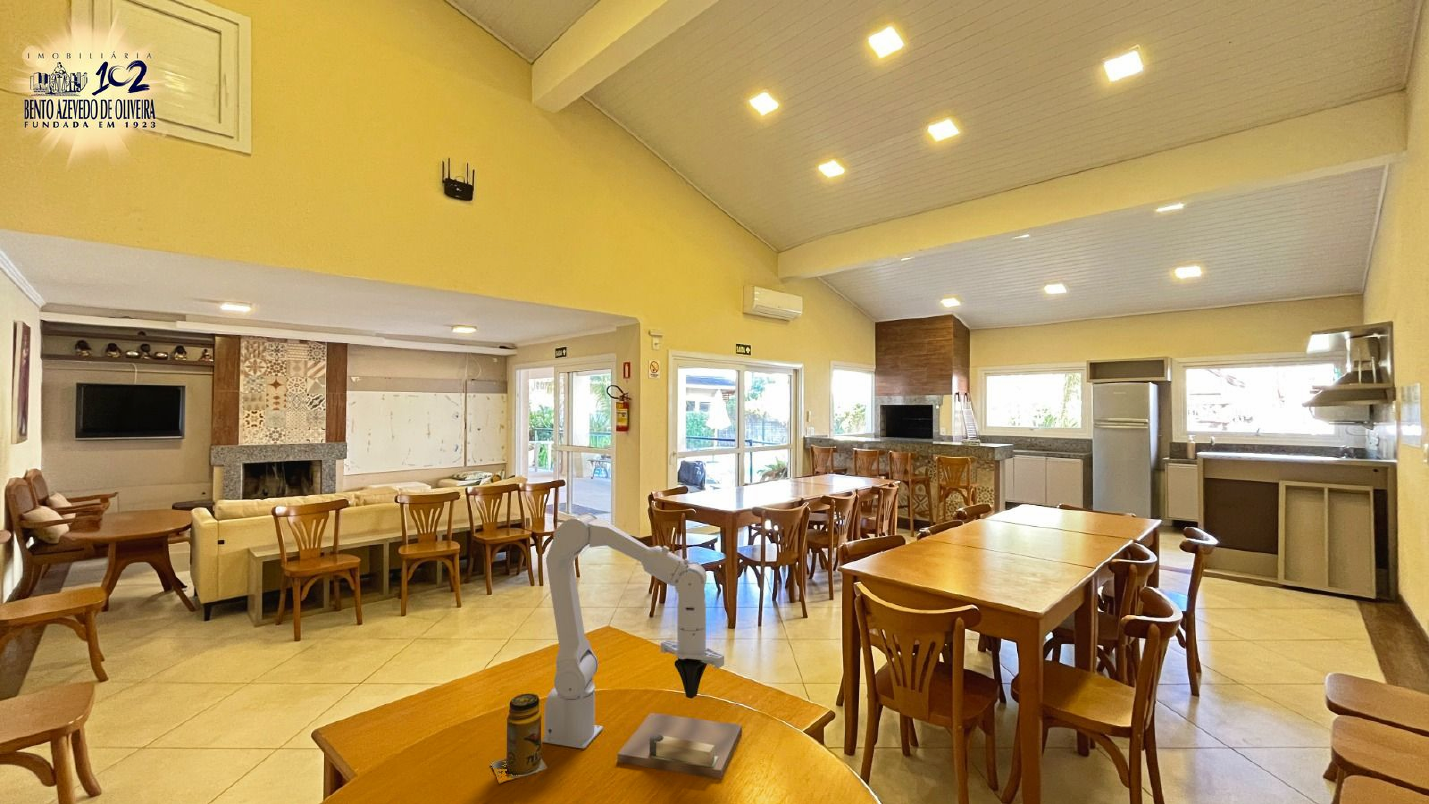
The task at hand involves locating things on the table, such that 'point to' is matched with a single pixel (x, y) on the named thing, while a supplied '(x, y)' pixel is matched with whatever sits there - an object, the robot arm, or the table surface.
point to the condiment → (523, 738)
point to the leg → (682, 750)
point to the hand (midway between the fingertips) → (691, 696)
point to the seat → (686, 729)
